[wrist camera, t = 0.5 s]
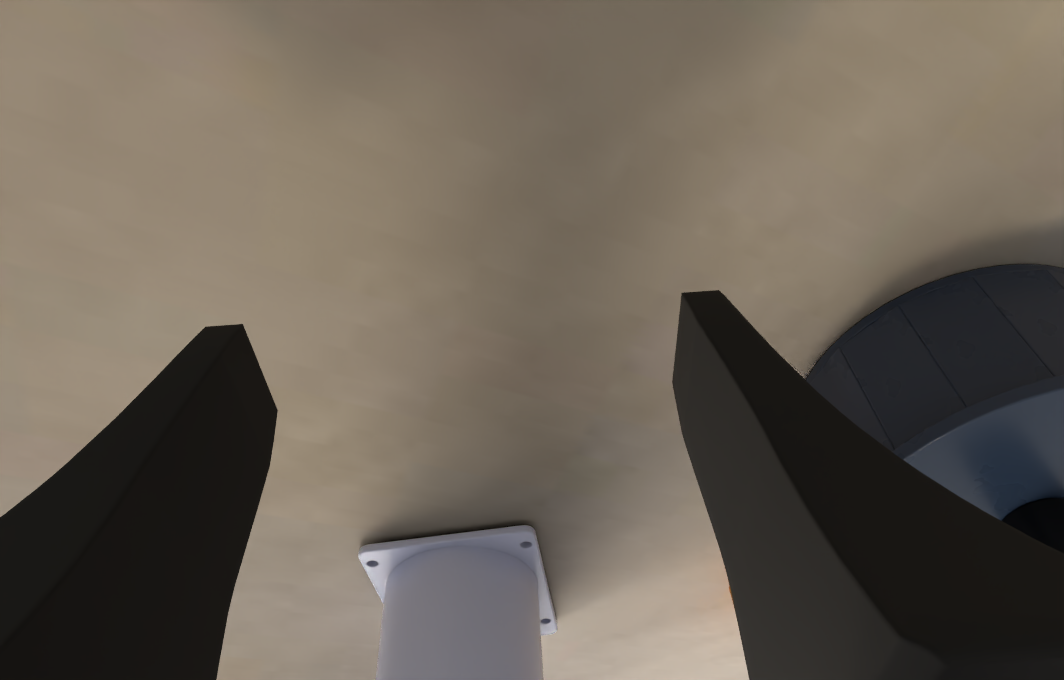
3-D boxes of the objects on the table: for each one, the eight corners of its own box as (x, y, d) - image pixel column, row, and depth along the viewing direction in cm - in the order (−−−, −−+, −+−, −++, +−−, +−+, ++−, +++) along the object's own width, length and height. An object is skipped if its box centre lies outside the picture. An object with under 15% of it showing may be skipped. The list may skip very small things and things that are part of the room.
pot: (1194, 402, 30) (1305, 514, 26) (773, 535, 35) (812, 647, 31) (1222, 168, 23) (1383, 273, 19) (686, 377, 27) (721, 496, 23)
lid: (1219, 526, 27) (1318, 639, 24) (862, 623, 31) (907, 733, 28) (1265, 280, 19) (1421, 399, 16) (779, 449, 23) (828, 574, 20)
